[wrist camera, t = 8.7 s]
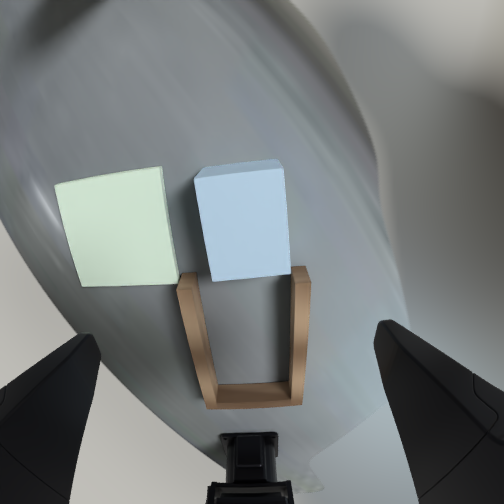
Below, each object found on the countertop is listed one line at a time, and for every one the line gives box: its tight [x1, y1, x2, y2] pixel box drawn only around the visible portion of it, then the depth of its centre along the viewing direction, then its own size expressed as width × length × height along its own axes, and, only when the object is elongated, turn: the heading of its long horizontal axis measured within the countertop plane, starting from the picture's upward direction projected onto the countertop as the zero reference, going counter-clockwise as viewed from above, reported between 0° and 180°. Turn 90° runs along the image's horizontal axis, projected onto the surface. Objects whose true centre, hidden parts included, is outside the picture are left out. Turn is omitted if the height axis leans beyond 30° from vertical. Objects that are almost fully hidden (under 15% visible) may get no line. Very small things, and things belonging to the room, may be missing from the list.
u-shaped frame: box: [176, 266, 311, 409], centre depth 23 cm, size 13×8×2 cm, turn 3°
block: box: [194, 159, 291, 282], centre depth 18 cm, size 6×4×4 cm
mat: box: [55, 166, 180, 287], centre depth 19 cm, size 8×8×1 cm
